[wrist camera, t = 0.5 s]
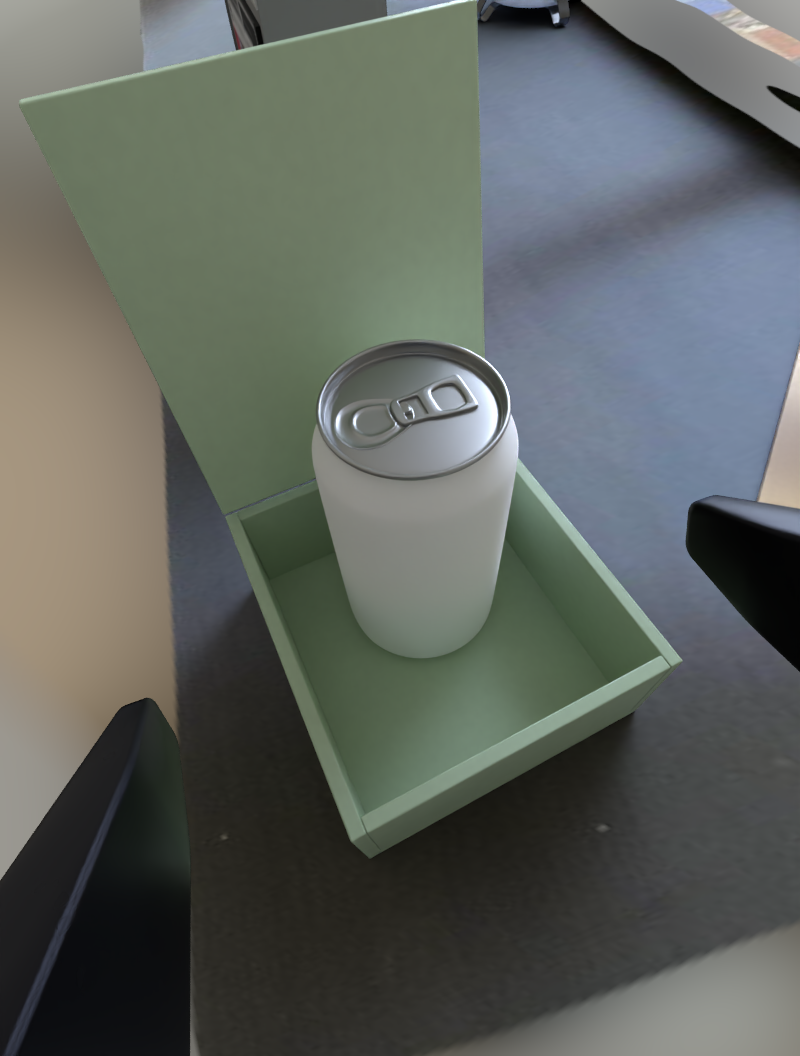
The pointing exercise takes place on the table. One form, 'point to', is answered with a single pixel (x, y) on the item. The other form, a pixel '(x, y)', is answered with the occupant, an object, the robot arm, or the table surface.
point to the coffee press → (557, 13)
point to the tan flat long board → (785, 450)
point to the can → (416, 489)
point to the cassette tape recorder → (294, 18)
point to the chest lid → (280, 221)
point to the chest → (448, 665)
